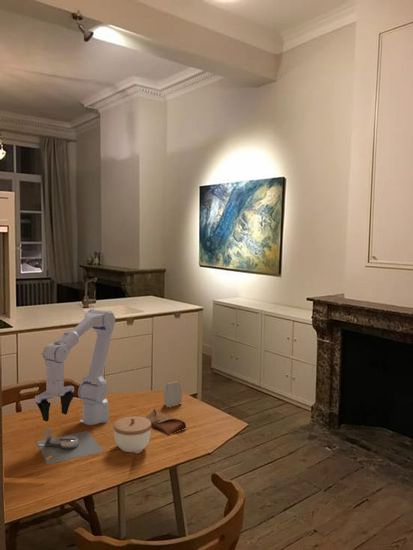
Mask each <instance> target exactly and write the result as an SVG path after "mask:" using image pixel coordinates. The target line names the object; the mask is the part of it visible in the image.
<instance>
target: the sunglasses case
mask: <svg viewBox="0 0 413 550" xmlns="http://www.w3.org/2000/svg"><path fill="white" fill-rule="evenodd" d="M145 418H147V419H149V420H150V421H151V428H154V429H156V430H159V431H160V430H161V432H162V431H163V432H162V433H164V432H165V434H166V433H167V434H168V436H171V435H170V434H172V433H175V432H177V431H179V430H182V429H184V428H186V429H187V425H186V422H184V421H183V420H181V419H178V418H175V417H174V416H171V415H168V414H166V413H164V412H161V411H158V410H156V409H155V408H154V409H153V410H152V411H151V412H150V413H149V414H147V415H146V417H145ZM182 431H183V430H182ZM177 433H178V432H177ZM167 434H166V435H167ZM175 434H176V433H175Z"/></svg>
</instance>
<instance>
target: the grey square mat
mask: <svg viewBox="0 0 413 550" xmlns="http://www.w3.org/2000/svg"><path fill="white" fill-rule="evenodd" d="M66 436H76V437H78V446H77V447H76V448H74V449H69V450H65V449H61V448H60V447H59V446H45V442H46V438H45V439H41V440H37V441H36V443H37V445H38V448H39V450H40V452H41V455H42V457H43V460H44V461H45V464H46V465H51V464H55V463H59V462H64V461H70V460H73V459H78V458H81V457H82V458H83V457H86V456H90V455H94V454H95V455H96V454H99V453H103V452H104V451H103V450H102V448H101V447H100V445H99V444H98V443H97V441H96V440H95V438H94V436H92V434H91V433H90V431H89V430H85V431H84V430H83V431H80V432H75V433H70V434H64V435H61V436H56V437H51V441H60V439H61V438H63V437H66Z"/></svg>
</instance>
